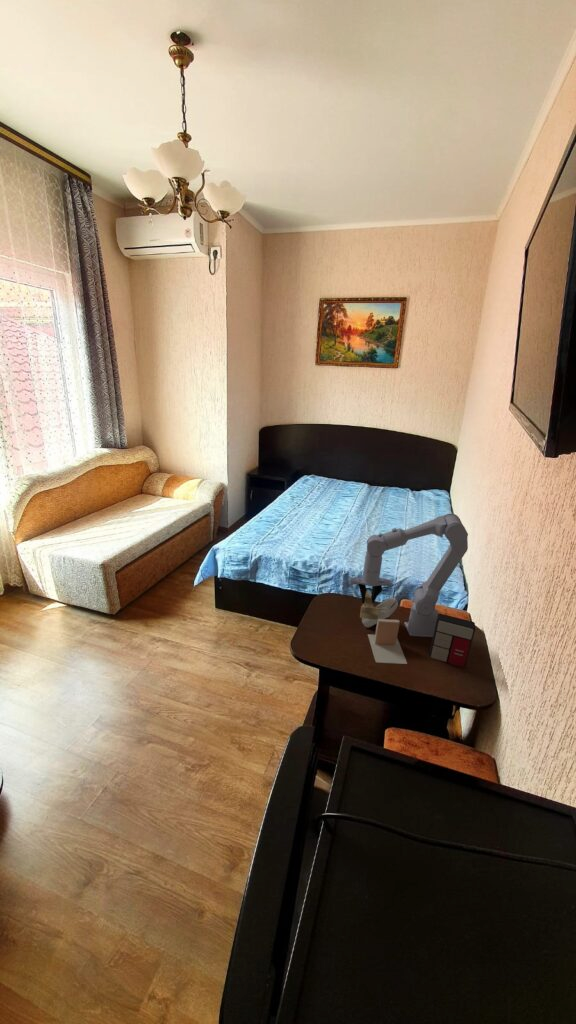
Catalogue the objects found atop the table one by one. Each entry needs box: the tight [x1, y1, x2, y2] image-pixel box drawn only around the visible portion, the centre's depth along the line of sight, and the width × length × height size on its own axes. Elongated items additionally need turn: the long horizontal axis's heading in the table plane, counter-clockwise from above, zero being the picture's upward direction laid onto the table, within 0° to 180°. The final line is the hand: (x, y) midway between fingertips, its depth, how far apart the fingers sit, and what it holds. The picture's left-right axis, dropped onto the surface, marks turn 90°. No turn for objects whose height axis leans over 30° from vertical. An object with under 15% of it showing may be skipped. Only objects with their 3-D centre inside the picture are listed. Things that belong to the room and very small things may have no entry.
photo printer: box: [361, 597, 399, 629], centre depth 144 cm, size 10×4×12 cm
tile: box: [374, 618, 401, 645], centre depth 135 cm, size 7×2×9 cm, turn 90°
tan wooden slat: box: [359, 589, 379, 620], centre depth 145 cm, size 6×16×4 cm, turn 174°
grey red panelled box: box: [428, 612, 476, 668], centre depth 129 cm, size 11×4×15 cm, turn 68°
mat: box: [367, 633, 408, 665], centre depth 134 cm, size 10×14×1 cm
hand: (367, 602), depth 145 cm, fingers closed on tan wooden slat, 3 cm apart
